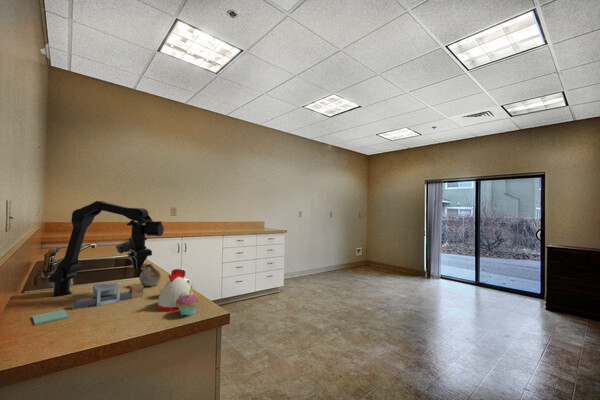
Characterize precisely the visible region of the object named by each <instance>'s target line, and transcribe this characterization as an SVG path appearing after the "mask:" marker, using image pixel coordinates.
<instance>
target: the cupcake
mask: <svg viewBox="0 0 600 400" xmlns="http://www.w3.org/2000/svg"><path fill="white" fill-rule="evenodd" d="M193 286H194V284H193V283H191V285H190V287H191V289H190V294H189V295H183V296H181V297H179V298H178V299H177V300H176V303H175V305H176V306H177V307H179V313H180V315H181V316H183V315H188V316H191V315H190V314H192V313H193V314H194V313H195V311H196V308H197V306H198V305H199V302H200V299H199V297H197V296H196V295H194V294H193V295H191V293H193ZM193 314H192V315H193Z"/></svg>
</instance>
